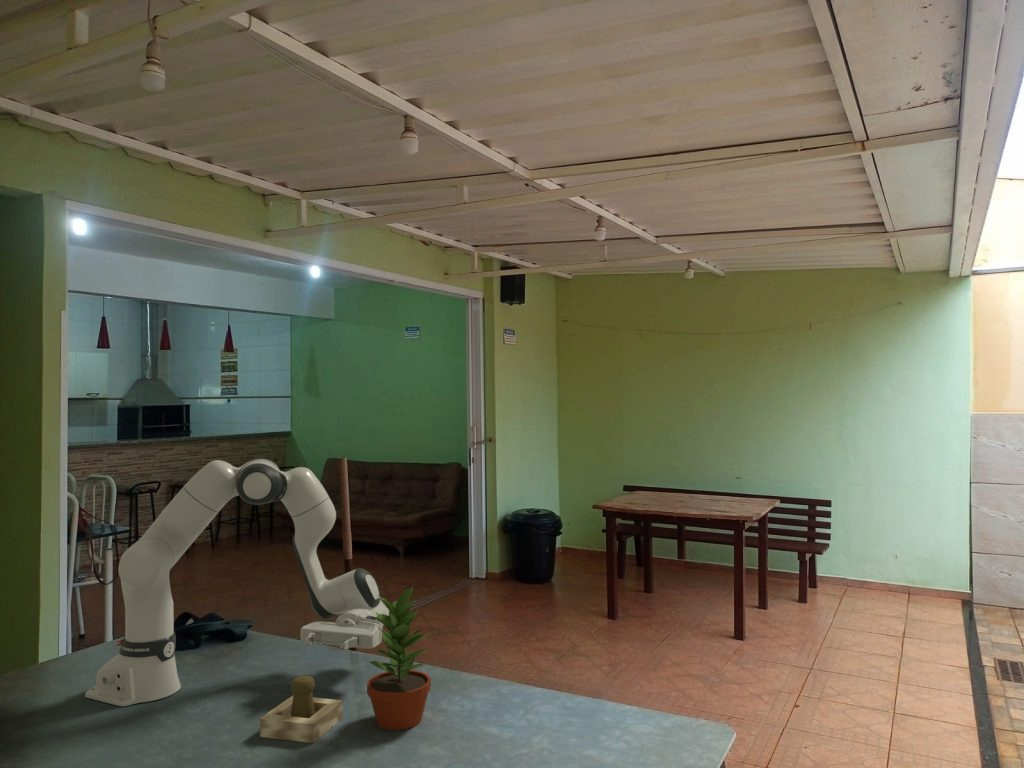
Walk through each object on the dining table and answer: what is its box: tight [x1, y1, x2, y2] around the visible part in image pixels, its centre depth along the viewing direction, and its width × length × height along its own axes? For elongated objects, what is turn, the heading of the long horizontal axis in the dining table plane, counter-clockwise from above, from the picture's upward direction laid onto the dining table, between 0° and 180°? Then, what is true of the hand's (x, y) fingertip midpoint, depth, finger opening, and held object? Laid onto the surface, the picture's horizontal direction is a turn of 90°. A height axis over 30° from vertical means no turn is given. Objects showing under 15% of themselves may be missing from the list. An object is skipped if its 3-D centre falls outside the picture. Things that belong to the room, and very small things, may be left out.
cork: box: [290, 675, 316, 718], centre depth 166 cm, size 6×6×11 cm
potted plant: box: [366, 585, 432, 731], centre depth 169 cm, size 15×15×30 cm
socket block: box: [259, 695, 344, 744], centre depth 166 cm, size 13×13×4 cm
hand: (325, 644), depth 180 cm, fingers open, 8 cm apart
